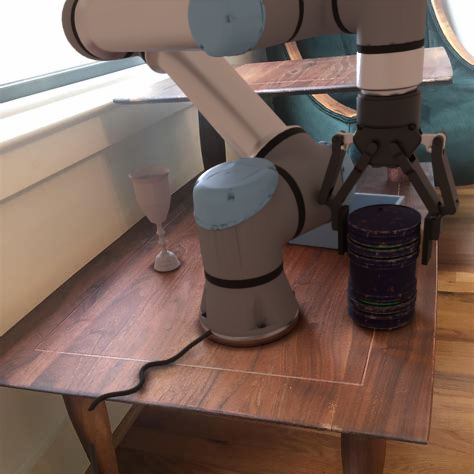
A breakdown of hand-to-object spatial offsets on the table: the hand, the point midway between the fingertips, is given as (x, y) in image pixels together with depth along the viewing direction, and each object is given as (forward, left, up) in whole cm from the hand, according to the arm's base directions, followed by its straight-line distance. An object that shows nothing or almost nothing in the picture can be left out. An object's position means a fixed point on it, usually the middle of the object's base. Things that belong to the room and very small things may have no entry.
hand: (383, 255), depth 76 cm
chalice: (+5, +42, -10) cm, 44 cm away
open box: (+27, +14, -10) cm, 32 cm away
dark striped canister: (0, 0, -9) cm, 9 cm away
